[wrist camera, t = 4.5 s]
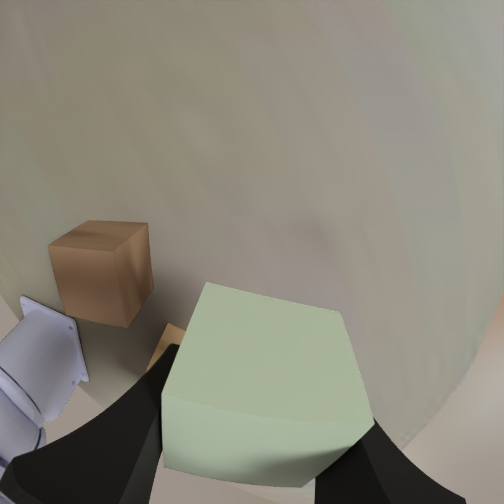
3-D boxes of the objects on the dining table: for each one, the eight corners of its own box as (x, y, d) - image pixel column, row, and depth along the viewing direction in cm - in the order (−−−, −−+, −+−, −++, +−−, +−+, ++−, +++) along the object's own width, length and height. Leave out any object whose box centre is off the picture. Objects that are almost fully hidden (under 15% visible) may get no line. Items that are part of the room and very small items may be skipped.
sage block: (296, 393, 12) (301, 487, 7) (191, 373, 12) (163, 466, 7) (339, 311, 10) (374, 424, 5) (206, 281, 10) (161, 394, 5)
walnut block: (154, 287, 20) (127, 328, 15) (98, 280, 20) (65, 314, 15) (148, 222, 18) (113, 251, 13) (89, 220, 18) (47, 245, 13)
